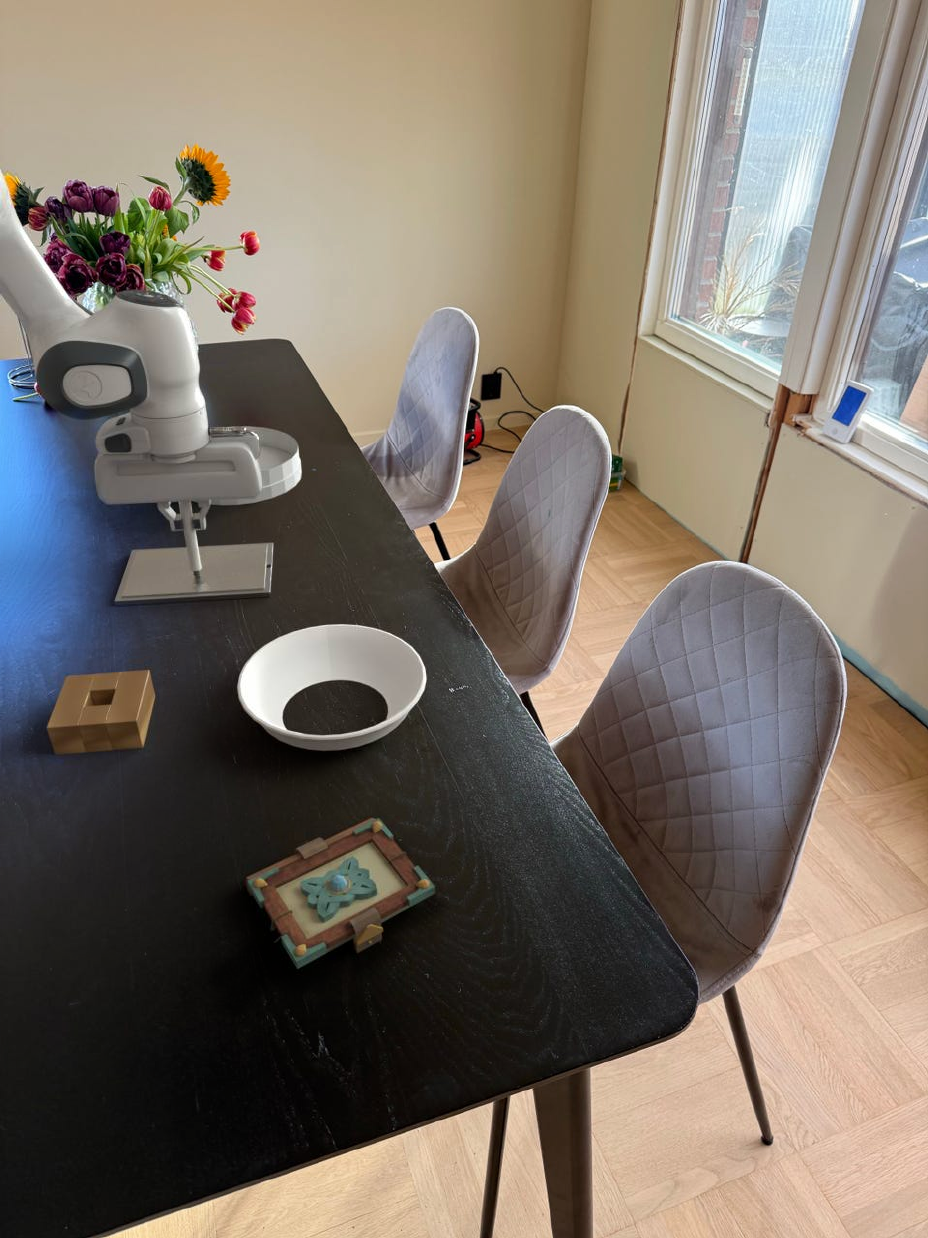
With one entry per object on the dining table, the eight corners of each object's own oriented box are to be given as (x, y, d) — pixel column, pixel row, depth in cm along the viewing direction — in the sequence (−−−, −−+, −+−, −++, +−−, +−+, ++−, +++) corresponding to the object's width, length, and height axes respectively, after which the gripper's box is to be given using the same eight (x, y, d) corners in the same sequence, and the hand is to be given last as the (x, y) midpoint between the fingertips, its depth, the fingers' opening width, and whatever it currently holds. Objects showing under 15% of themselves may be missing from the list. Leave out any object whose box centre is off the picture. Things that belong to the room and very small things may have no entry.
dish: (166, 510, 136) (161, 481, 133) (172, 456, 154) (167, 430, 151) (307, 499, 140) (305, 470, 138) (297, 448, 158) (294, 422, 155)
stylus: (190, 578, 116) (176, 497, 110) (192, 572, 118) (178, 492, 111) (202, 577, 117) (188, 497, 110) (203, 571, 118) (190, 492, 111)
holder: (58, 765, 87) (46, 727, 85) (76, 711, 94) (66, 675, 92) (145, 757, 88) (136, 720, 86) (157, 705, 96) (149, 669, 93)
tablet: (115, 606, 112) (113, 599, 112) (133, 554, 124) (131, 548, 123) (270, 597, 115) (269, 590, 114) (273, 547, 127) (273, 541, 126)
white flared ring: (243, 797, 84) (235, 749, 81) (244, 677, 100) (237, 632, 97) (441, 772, 88) (442, 724, 84) (411, 660, 104) (411, 616, 100)
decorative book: (190, 926, 72) (181, 886, 69) (373, 836, 80) (371, 798, 78) (256, 1054, 63) (248, 1015, 60) (453, 938, 71) (454, 899, 69)
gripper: (258, 417, 110) (269, 514, 117) (91, 422, 107) (114, 521, 114) (256, 435, 104) (268, 535, 112) (80, 441, 102) (105, 543, 109)
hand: (189, 528), depth 113 cm, fingers closed on stylus, 1 cm apart
